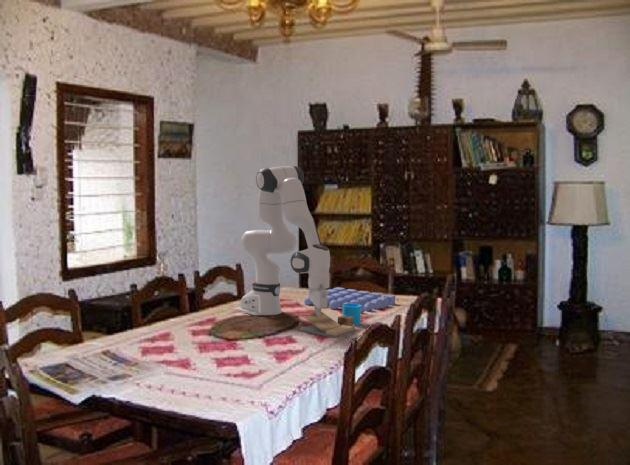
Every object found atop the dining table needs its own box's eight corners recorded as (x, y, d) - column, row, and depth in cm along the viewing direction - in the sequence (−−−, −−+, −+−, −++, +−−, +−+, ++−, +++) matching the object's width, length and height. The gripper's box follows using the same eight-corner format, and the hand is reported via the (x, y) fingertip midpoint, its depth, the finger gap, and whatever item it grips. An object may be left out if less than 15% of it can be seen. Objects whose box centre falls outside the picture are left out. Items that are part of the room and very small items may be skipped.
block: (337, 328, 302) (337, 317, 301) (343, 326, 306) (343, 315, 305) (347, 330, 299) (347, 318, 298) (353, 328, 303) (353, 316, 303)
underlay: (299, 331, 293) (299, 325, 293) (317, 325, 305) (317, 320, 305) (336, 338, 284) (336, 332, 284) (352, 331, 296) (353, 326, 296)
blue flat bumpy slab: (395, 304, 359) (395, 295, 359) (363, 316, 330) (363, 305, 330) (337, 295, 378) (337, 287, 377) (302, 305, 349) (302, 296, 348)
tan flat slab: (305, 318, 293) (306, 315, 292) (320, 313, 303) (321, 311, 302) (325, 332, 288) (326, 330, 287) (339, 327, 298) (340, 325, 298)
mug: (356, 326, 307) (357, 307, 306) (339, 323, 310) (340, 305, 309) (365, 320, 318) (366, 303, 317) (349, 318, 321) (349, 301, 320)
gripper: (331, 287, 285) (330, 320, 287) (320, 279, 305) (319, 310, 306) (316, 287, 284) (315, 320, 285) (306, 279, 304) (305, 310, 305)
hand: (317, 315), depth 296 cm, fingers closed
